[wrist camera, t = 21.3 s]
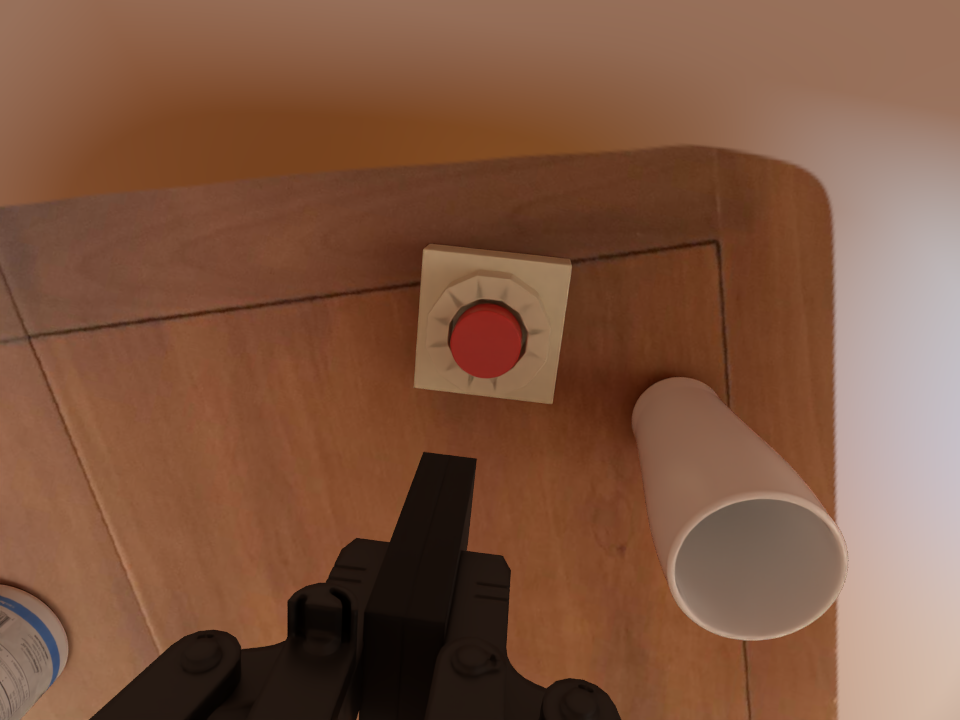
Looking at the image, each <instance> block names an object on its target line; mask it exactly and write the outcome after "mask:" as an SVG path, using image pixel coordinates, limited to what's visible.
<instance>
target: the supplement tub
mask: <svg viewBox="0 0 960 720" xmlns="http://www.w3.org/2000/svg"><path fill="white" fill-rule="evenodd" d="M67 658H68V640H67V636H66V633H65V630H64V628H63V626H62V624H61V622H60V621H59V619H58V618H57V616H56V615H55V614H54V613H53V611H52V610H51V609H50V608H49V607H48V606H47V605H46V604H45V603H43V602H42V601H41V600H39V599H38V598H36V597H35V596H33V595H31V594H29V593H27V592H25V591H23V590H21V589H18V588H15V587H11V586H7V585H0V720H20V719H21V718H22V717H23V716H24V715H25V714H26V713H27V712H28V711H29V709H30V708H31V707H32V706H33V705H34V704H35V703H36V702H37V701H38V699H39V698H40V697H41V696H42V695H43V694H44V693H45V692H46V690H47V689H48V688H49V687H50V686H51V685H52V684H53V682H54V681H55V680H56V679H57V678H58V677H59V676H60V674H61V673H62V671H63V669H64V667H65V665H66V662H67Z"/></svg>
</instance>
